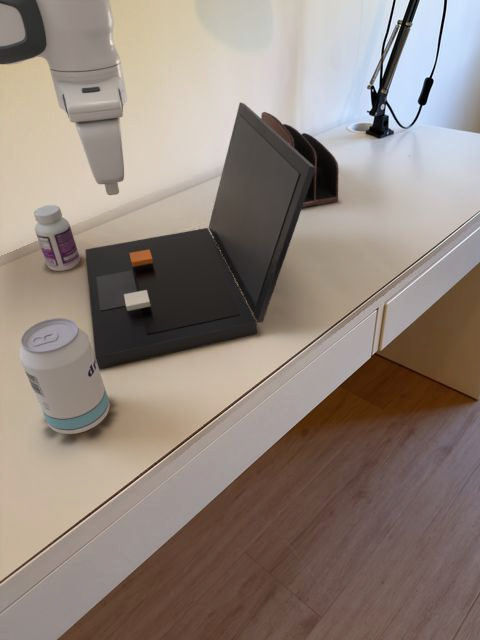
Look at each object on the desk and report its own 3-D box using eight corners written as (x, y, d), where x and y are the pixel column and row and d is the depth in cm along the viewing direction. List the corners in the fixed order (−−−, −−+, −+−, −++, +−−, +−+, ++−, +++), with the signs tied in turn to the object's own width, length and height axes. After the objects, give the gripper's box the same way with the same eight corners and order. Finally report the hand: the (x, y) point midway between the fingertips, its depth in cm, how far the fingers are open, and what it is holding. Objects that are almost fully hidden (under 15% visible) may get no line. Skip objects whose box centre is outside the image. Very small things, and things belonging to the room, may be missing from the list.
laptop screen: (309, 166, 59) (316, 167, 59) (239, 102, 81) (244, 103, 82) (256, 322, 70) (262, 322, 70) (207, 227, 92) (212, 228, 93)
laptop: (99, 369, 67) (95, 356, 65) (88, 259, 89) (85, 248, 88) (257, 334, 71) (256, 321, 70) (208, 238, 94) (207, 227, 92)
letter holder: (290, 210, 101) (289, 134, 92) (261, 175, 116) (258, 106, 107) (338, 202, 103) (342, 127, 94) (304, 168, 118) (304, 100, 109)
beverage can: (115, 429, 59) (88, 345, 51) (51, 447, 57) (13, 363, 49) (107, 389, 64) (81, 308, 56) (48, 405, 62) (13, 323, 54)
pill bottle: (79, 253, 91) (64, 200, 85) (81, 268, 87) (65, 213, 81) (47, 259, 90) (29, 206, 84) (47, 274, 86) (28, 219, 80)
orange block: (132, 266, 81) (131, 262, 80) (130, 257, 83) (129, 252, 83) (153, 263, 82) (152, 258, 81) (150, 253, 84) (149, 249, 83)
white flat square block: (127, 311, 71) (126, 306, 71) (125, 298, 74) (123, 294, 73) (150, 306, 72) (149, 301, 72) (147, 294, 75) (146, 289, 74)
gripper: (64, 74, 76) (87, 169, 85) (67, 111, 61) (94, 223, 69) (109, 70, 77) (127, 164, 86) (122, 106, 62) (142, 215, 71)
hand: (112, 191), depth 78 cm, fingers closed
